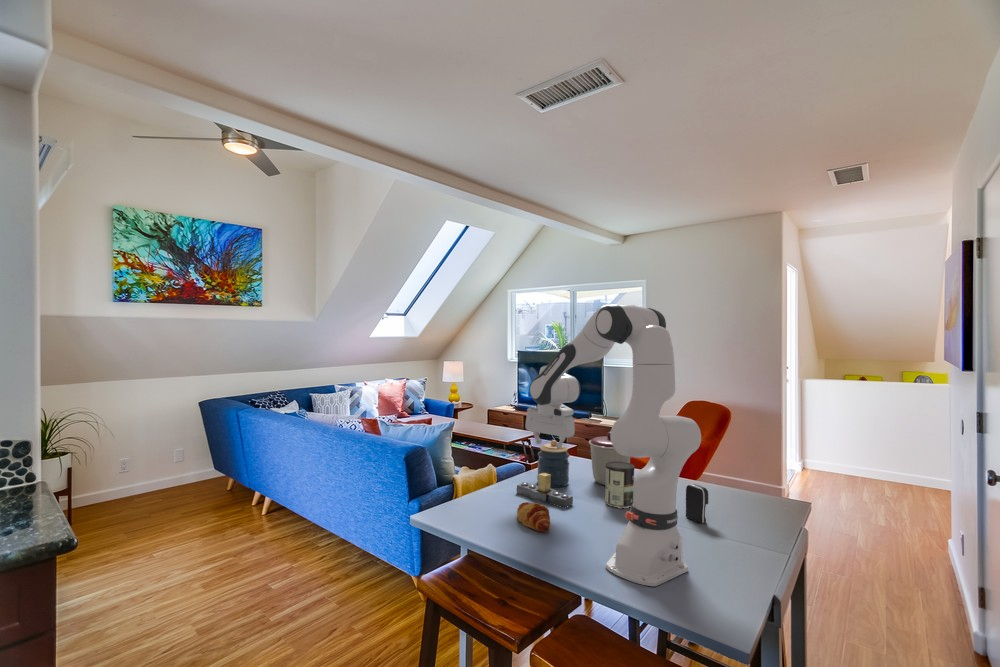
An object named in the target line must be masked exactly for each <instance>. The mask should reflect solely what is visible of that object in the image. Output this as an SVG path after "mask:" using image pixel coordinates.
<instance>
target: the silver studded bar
mask: <svg viewBox="0 0 1000 667" xmlns="http://www.w3.org/2000/svg"><path fill="white" fill-rule="evenodd" d="M516 494H518V495H521V496H523V497H524V496H525V497H528V498H530V499H531V500H534V501H537V502H539V501H540V503H543V504H549V503H551V504H550V505H553V504H555V505H554V506H556V505H558V506H557V507H559V506H561V507H560V508H562V507H564V508H563V509H566V508H565V507H567V506H569V505H571V504H573V503H574V501H573V500H574V496H573V495H570V494H567V493H562V492H561V491H558V490H556V489H553V488H550V492H548V493H542V492H538V485H536V484H532V483H529V482H525V481H524V482H521V483H519V484H516ZM547 502H548V503H547ZM571 506H572V505H571ZM569 507H570V506H569ZM567 508H568V507H567Z"/></svg>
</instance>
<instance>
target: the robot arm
mask: <svg viewBox="0 0 1000 667" xmlns="http://www.w3.org/2000/svg"><path fill="white" fill-rule="evenodd" d="M616 343H617V344H620V345H622V344H624V343H626V344H628V346H630V348H631V351H632V392H631V396H630V401H629V404H628V405H627V408H626V409H625V411H624V413H622V415H621V416H620V417H619V418H618V419H617V420H616V421H615V422H614V423H613V425H612V427H611V429H610V432H611V434H610V438H611V443H612V445H613V447H614V449H615V450H616V451H617V453H618V454H620V455H623V456H628V457H630V458H635V459H643V458H649V460H648V462H647V463H646V465H645V466H644V467H643V468H641V469H639V470H638V471H637V473H636V474H634V492H633V504H632V506H631V508H630V510H629V511H628V510H627V511H625V515H624V517H625V519H626V520H629V521H628V522H627V525H626V527H625V528H624V530H623V532H622V534H621V535H620V537H619V539H618V541H617V542H616V547H615V552H614V553H613V554H612V555H611V557H610V558H609V559H608V561H607V562H606V563H605V569H606V570H607V571H609V572H611V573H612V574H614V575H615V576H618V577H619V578H623V579H625V580H628V581H629V582H632V583H636V584H639V585H644V586H649V587H658V586H659V585H662V584H664V583H666V582H669V581H670V580H673V579H674V578H676V577H678V576H679V577H680V576H681V575H682V574H684V573H688V572H689V568H688V567H689V566H688V565H687V564H686V563H685V562H684V556H683V553H684V552H683V549H684V548H683V536H682V535H681V533H680V531H679V530H678V527H677V525H678V518H679V516H678V510H677V508H676V506H677V493H678V492H677V490H678V489H677V488H678V482H679V479H680V478H679V477H680V474H681V472H682V470H683V467H684V465H685V464H686V462H687V461H688V459H689V458H690V457H691V455H692V454H694V453H695V452H696V451H697V450H699V448H700V445H701V443H702V433H701V428H700V427H699V425H698V423H697V422H696V421H695V420H693V418H690V417H685V416H681V415H676V414H675V415H660V413H661V409H662V408H663V405H664V403H666V402H667V401H669V400H670V399H672V398H673V396H674V395H675V393H676V374H675V372H676V370H675V369H676V368H675V354H674V347H673V343H672V338H671V335H670V332H669V331H668V329H667V322H666V318H665V316H664V314H662V312H661V311H658V310H656V309H654V308H651V307H647V308H646V307H643V306H638V305H634V304H615V303H613V304H609V305H608V304H604V305H602V306H599V308H598V309H596V310H595V312H594V313H593V314H592V315H590V317H589V319H588V320H587V321H586V323H585V324H584V326H583V328H582V329H581V330H580V332H579V333H578V334H577V335H576V336H575V337H574V338H573V339H572V340H571V341H569V342H568V343H566V344H565V345H564V346H563V347H561V348H560V349H559V351H558V352H557V353H556V354H555V356H554V357H552V359H551V360H550V362H549V363H548V364H547V365H543V366H541V367H540V369H539V373H538V374H537V376H535V377H534V378H533V380H532V381H531V383H530V385H529V395H530V397H531V399H532V400H533V401H534V402H535V403H536V404H537V406H533V405H530V406H529V407H528V408H527V409H526V416H525V417H526V418H525V427H524V428H525V430H526V431H530V432H532V434H533V437H534V439H535V444H536V445H542V440H543V439H542V438H540V436H539V435H540V434H543V435H544V434H546V435H551V436H557V437H558V439H559V442H557V443H556V445H557V446H556V448H559V449H561V448H562V445H563V444H564V442H565V441H566V439H569V438H572V437H574V435H575V433H576V432H575V431H576V426H575V419H574V417H573V415H574V409H573V408H570V407H569V406H567V405H565V404H566V403H573V402H576V401H577V400H578V398H579V396H580V395H581V394H580V393H581V385H580V381H579V379H578V378H576V377H575V376H573V375H570V374H568V373H567V371H569V370H570V369H572V368H574V367H577V366H579V365H583V364H588V363H589V364H590V363H594V362H597V361H600V360H602V359H603V358H604V357H605V356H606V355H607V354H609V352H610V351H611V350H612V349H613V347H614V345H615V344H616Z"/></svg>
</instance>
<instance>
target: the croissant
mask: <svg viewBox="0 0 1000 667" xmlns="http://www.w3.org/2000/svg"><path fill="white" fill-rule="evenodd" d="M516 516H517V521H518V522H520V523H521V524H522V525H523V526H525V527H528V528H531V529H533V530H535V531H538V532H541V533H544V532H547V531H549V530H550V527H551V525H552V524H551V523H552V522H551V516H550V511H549V509H548V507H547V506H546V505H545V504H541V503H539V502H537V503H536V502H522V503H520V504H519V505H518V507H517V510H516Z"/></svg>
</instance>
